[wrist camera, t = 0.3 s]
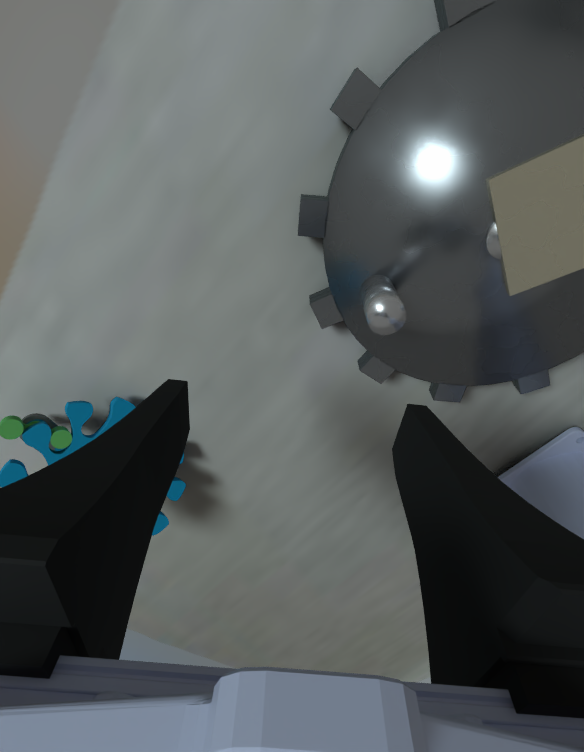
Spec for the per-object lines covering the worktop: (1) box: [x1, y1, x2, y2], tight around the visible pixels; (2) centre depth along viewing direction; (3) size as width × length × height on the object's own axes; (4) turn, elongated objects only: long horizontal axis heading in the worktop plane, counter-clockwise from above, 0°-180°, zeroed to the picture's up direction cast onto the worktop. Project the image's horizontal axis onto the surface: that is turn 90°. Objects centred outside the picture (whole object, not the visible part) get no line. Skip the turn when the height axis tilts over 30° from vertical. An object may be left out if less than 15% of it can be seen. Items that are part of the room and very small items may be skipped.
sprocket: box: [298, 0, 584, 402], centre depth 16 cm, size 18×18×4 cm
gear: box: [0, 397, 186, 535], centre depth 25 cm, size 11×6×10 cm
